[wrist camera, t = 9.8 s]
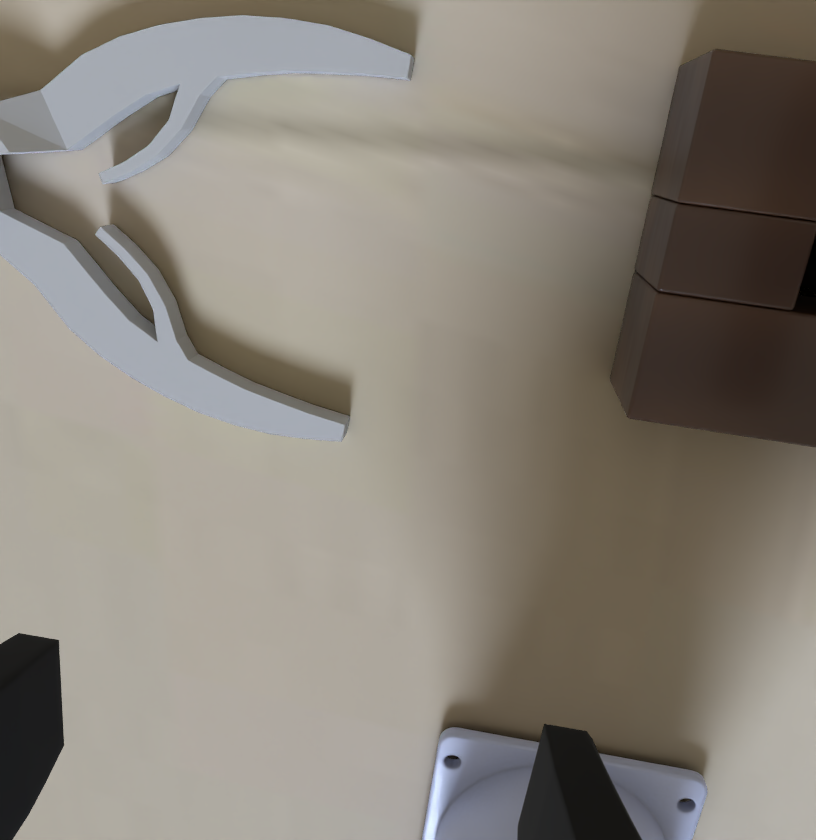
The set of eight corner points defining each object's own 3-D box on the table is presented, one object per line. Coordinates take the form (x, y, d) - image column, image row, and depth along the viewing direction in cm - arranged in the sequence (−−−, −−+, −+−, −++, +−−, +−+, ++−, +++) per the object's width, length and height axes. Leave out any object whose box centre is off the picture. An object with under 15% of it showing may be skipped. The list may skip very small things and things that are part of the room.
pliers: (333, 462, 20) (-226, 334, 20) (345, 440, 21) (-176, 322, 22) (408, 37, 16) (-264, -100, 17) (416, 46, 18) (-202, -80, 18)
